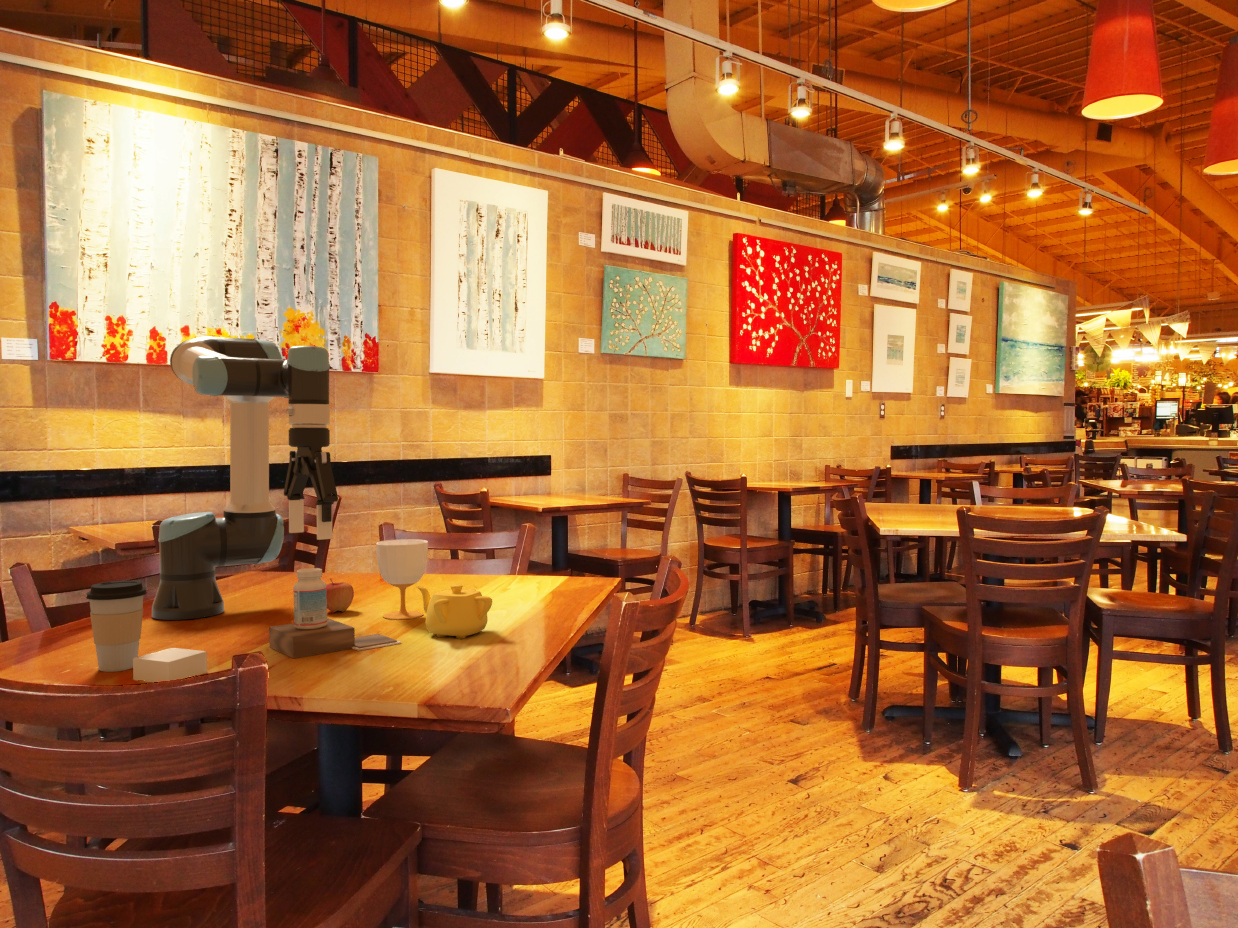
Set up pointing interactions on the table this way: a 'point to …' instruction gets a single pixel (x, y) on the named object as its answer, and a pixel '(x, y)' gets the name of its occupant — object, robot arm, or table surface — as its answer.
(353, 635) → the walnut block
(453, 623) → the teapot
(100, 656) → the coffee cup
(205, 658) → the beige block
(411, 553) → the cup
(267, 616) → the table surface
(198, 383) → the robot arm
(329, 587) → the apple
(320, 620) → the pill bottle
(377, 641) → the tile
